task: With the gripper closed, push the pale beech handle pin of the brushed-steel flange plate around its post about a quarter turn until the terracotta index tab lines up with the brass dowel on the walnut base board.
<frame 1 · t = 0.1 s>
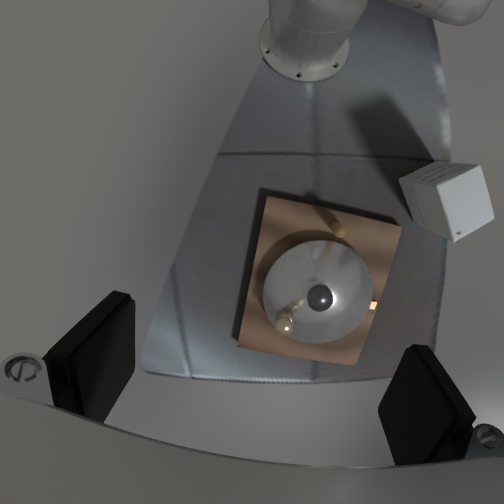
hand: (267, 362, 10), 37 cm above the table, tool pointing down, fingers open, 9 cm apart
flange plate: (323, 299, 44), point 4 cm above the table, hinge at 0.0°
supplement box: (424, 191, 43), on the table
base board: (316, 287, 48), on the table
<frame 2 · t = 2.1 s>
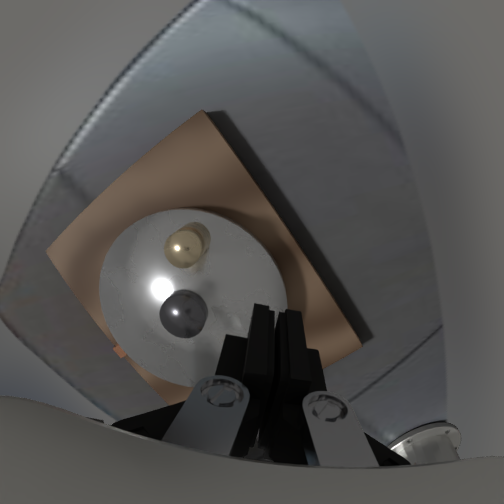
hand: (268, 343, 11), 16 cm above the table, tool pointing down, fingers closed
flange plate: (178, 319, 24), point 4 cm above the table, hinge at 0.0°
base board: (195, 294, 28), on the table
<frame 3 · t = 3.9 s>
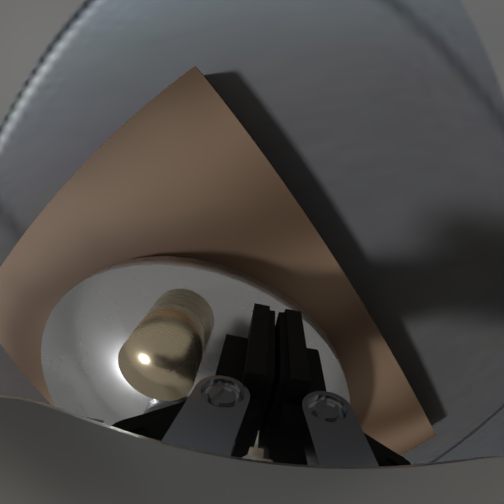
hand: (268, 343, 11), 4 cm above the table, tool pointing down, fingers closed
flange plate: (168, 440, 13), point 4 cm above the table, hinge at 1.5°, touching gripper
base board: (193, 382, 17), on the table
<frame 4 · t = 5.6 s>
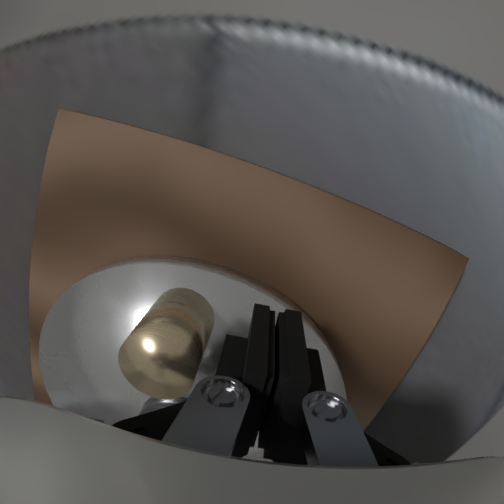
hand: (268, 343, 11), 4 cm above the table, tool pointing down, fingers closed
flange plate: (164, 439, 13), point 4 cm above the table, hinge at 55.4°, touching gripper
base board: (191, 382, 17), on the table
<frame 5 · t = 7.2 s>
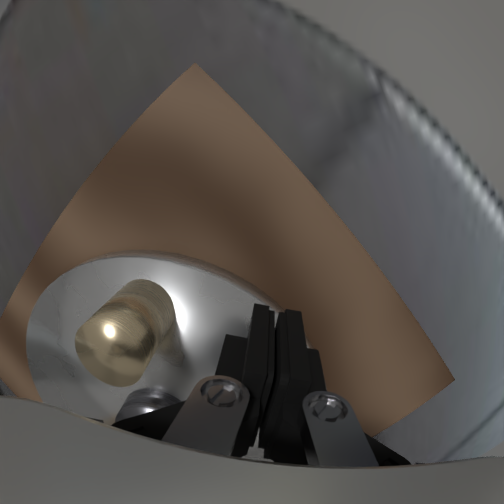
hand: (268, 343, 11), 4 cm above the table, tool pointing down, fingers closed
flange plate: (147, 435, 13), point 4 cm above the table, hinge at 89.3°
base board: (175, 378, 17), on the table
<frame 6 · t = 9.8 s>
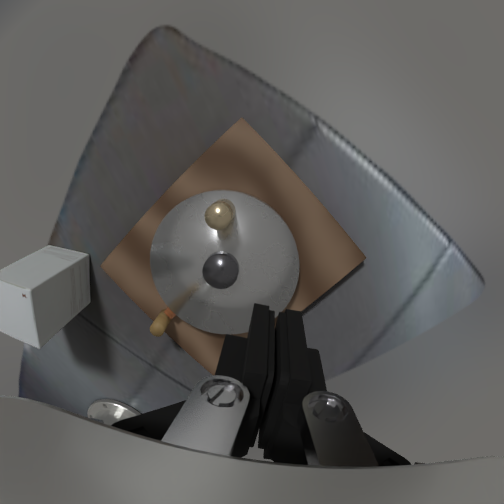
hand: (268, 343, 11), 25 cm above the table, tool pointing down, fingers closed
flange plate: (217, 274, 33), point 4 cm above the table, hinge at 89.4°
supplement box: (70, 273, 39), on the table
base board: (226, 258, 37), on the table
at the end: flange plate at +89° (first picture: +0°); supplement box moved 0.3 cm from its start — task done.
